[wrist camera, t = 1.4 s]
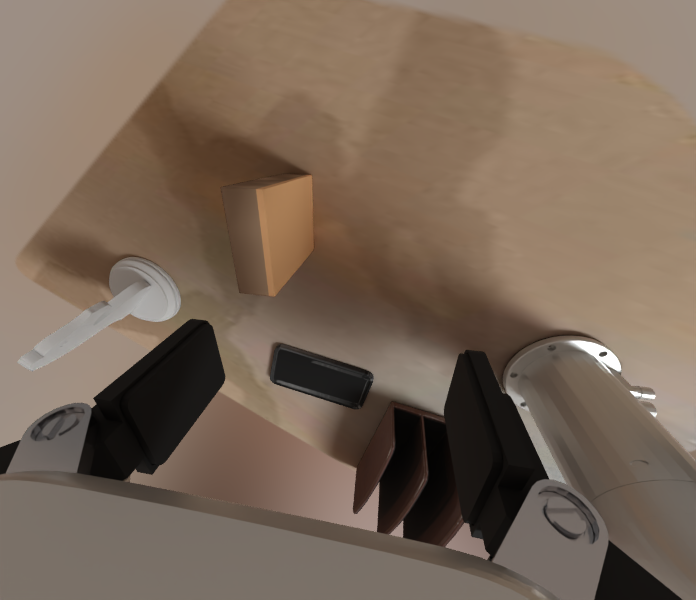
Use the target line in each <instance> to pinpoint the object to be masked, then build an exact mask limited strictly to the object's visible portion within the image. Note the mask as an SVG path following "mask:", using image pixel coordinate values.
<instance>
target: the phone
mask: <svg viewBox="0 0 696 600" xmlns="http://www.w3.org/2000/svg"><path fill="white" fill-rule="evenodd" d="M270 380H271V381H272V382H273V383H274V384H276V385H280V386H283V387H286V388H289V389H292V390H295V391H298V392H302V393H305V394H308V395H311V396H314V397H317V398H321V399H324V400H327V401H330V402H333V403H336V404H339V405H343V406H346V407H349V408H352V409H360V408H361V407H362V405H363V403H364V401H365V399H366V396H367V394H368V392H369V390H370V387H371V385H372V383H373V374H372V373H371V372H369V371H367V370H363V369H360V368H357V367H354V366H351V365H348V364H344V363H341V362H338V361H335V360H332V359H329V358H326V357H322V356H319V355H316V354H313V353H310V352H307V351H303V350H300V349H297V348H294V347H291V346H288V345H284V344H280V345H278V346H277V347H276V349H275V351H274V357H273V363H272V368H271V374H270Z"/></svg>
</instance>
